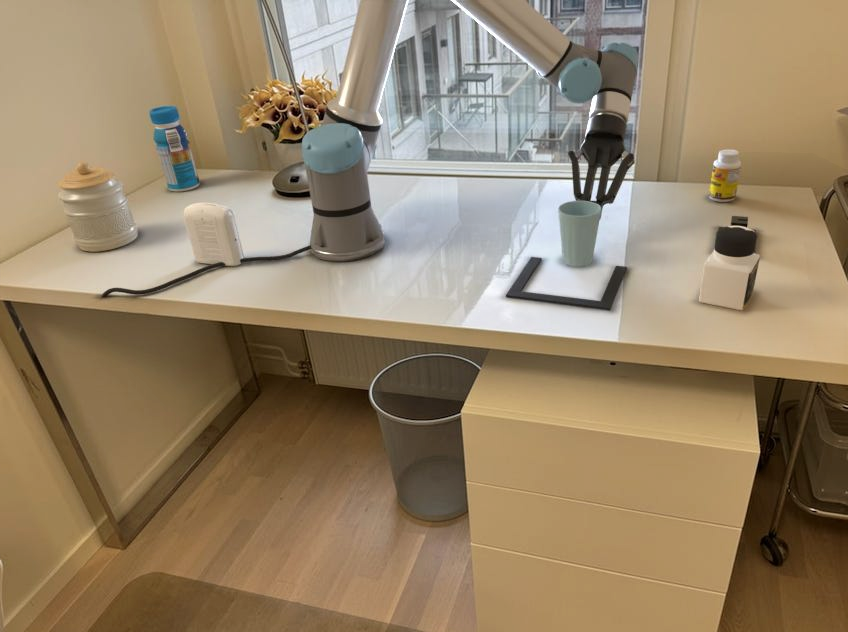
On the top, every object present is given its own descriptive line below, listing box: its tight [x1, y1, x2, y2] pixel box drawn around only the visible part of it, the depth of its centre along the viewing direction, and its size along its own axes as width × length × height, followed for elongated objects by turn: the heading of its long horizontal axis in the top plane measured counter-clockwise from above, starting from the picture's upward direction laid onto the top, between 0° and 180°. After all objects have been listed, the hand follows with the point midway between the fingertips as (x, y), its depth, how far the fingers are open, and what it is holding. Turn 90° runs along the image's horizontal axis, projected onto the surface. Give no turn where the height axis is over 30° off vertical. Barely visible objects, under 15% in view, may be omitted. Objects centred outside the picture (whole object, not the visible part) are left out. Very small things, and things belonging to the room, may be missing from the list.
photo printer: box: [183, 202, 245, 267], centre depth 139 cm, size 10×4×12 cm, turn 73°
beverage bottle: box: [148, 105, 201, 193], centre depth 179 cm, size 8×8×20 cm
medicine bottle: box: [698, 225, 761, 311], centre depth 113 cm, size 7×7×12 cm
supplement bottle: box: [708, 148, 742, 203], centre depth 150 cm, size 6×6×10 cm
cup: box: [557, 200, 602, 268], centre depth 129 cm, size 8×8×10 cm
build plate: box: [717, 215, 757, 254], centre depth 133 cm, size 12×7×5 cm, turn 159°
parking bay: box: [505, 256, 628, 311], centre depth 124 cm, size 16×18×1 cm
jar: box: [57, 161, 139, 253], centre depth 151 cm, size 13×13×18 cm
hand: (586, 235), depth 133 cm, fingers closed
